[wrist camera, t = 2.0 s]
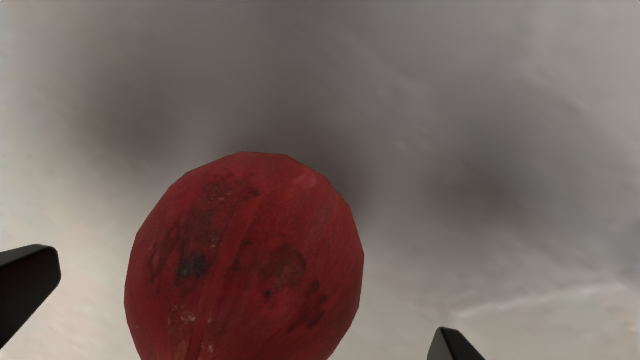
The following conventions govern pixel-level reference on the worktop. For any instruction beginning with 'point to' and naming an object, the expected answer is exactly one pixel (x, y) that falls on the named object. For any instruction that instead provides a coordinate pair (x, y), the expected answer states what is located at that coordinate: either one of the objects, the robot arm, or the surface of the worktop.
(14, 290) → the robot arm
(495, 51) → the worktop surface
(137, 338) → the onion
